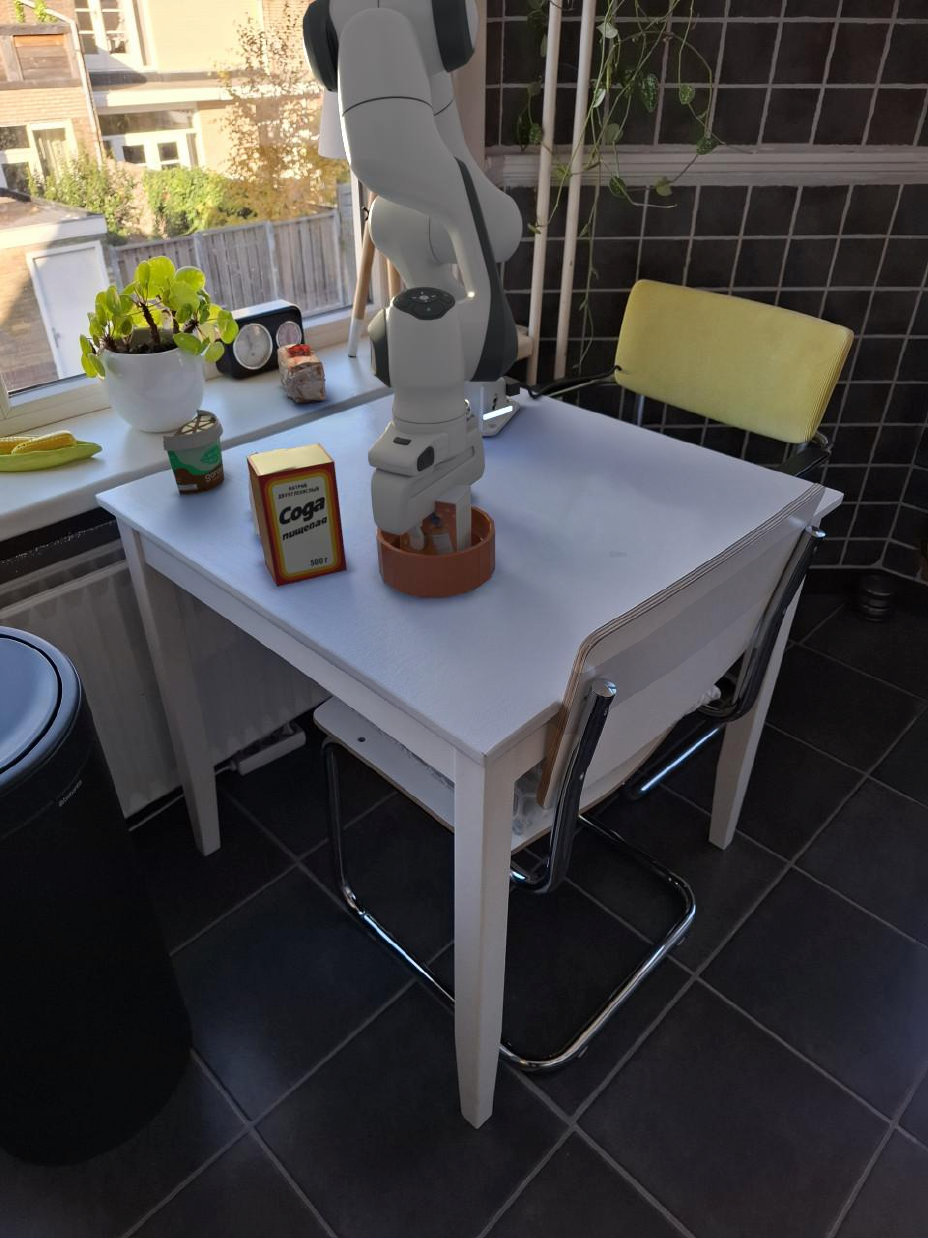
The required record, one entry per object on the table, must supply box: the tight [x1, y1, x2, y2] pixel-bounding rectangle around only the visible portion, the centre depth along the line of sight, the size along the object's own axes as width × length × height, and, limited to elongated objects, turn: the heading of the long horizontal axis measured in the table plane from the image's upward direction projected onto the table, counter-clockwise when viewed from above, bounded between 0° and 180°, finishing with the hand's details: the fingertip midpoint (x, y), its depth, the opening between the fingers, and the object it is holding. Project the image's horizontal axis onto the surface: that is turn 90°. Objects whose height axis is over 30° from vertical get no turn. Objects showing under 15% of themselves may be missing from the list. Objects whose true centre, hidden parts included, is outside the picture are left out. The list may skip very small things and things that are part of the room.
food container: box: [162, 409, 225, 495], centre depth 137 cm, size 12×6×10 cm, turn 168°
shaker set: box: [248, 451, 261, 538], centre depth 123 cm, size 12×4×11 cm, turn 14°
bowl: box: [375, 504, 496, 599], centre depth 113 cm, size 15×15×6 cm
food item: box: [277, 342, 327, 404], centre depth 171 cm, size 14×8×10 cm, turn 24°
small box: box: [400, 485, 472, 555], centre depth 112 cm, size 8×6×10 cm
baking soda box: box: [245, 442, 348, 588], centre depth 112 cm, size 10×6×16 cm
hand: (435, 534), depth 112 cm, fingers closed on small box, 6 cm apart
